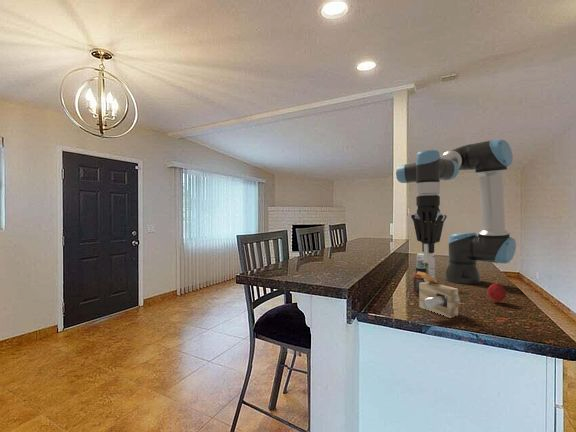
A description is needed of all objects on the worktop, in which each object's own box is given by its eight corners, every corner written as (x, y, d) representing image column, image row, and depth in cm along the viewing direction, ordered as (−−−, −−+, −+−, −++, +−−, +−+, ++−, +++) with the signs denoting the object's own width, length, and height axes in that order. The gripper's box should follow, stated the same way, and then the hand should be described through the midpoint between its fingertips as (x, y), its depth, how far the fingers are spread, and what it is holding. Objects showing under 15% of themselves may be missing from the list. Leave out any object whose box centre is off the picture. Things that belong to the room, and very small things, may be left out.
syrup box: (416, 284, 142) (416, 253, 142) (424, 282, 145) (424, 252, 145) (427, 287, 137) (426, 255, 137) (435, 285, 140) (435, 253, 140)
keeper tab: (429, 282, 110) (430, 279, 111) (438, 284, 107) (439, 281, 107) (416, 273, 107) (417, 270, 107) (424, 275, 104) (426, 272, 104)
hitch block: (427, 305, 111) (426, 281, 111) (458, 315, 101) (457, 288, 100) (419, 307, 110) (419, 282, 109) (450, 317, 99) (449, 290, 99)
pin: (446, 303, 106) (446, 288, 106) (460, 307, 102) (460, 292, 102) (419, 309, 100) (419, 294, 100) (433, 313, 96) (432, 298, 96)
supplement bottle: (430, 297, 122) (430, 269, 122) (415, 296, 123) (414, 268, 123) (427, 293, 128) (426, 266, 128) (412, 292, 129) (411, 265, 129)
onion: (489, 299, 117) (489, 278, 117) (507, 302, 113) (507, 281, 113) (485, 302, 113) (485, 281, 113) (504, 306, 109) (504, 284, 109)
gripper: (452, 194, 103) (452, 263, 103) (419, 196, 114) (420, 258, 115) (437, 194, 99) (437, 266, 100) (405, 195, 111) (405, 260, 111)
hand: (428, 262), depth 107 cm, fingers closed
